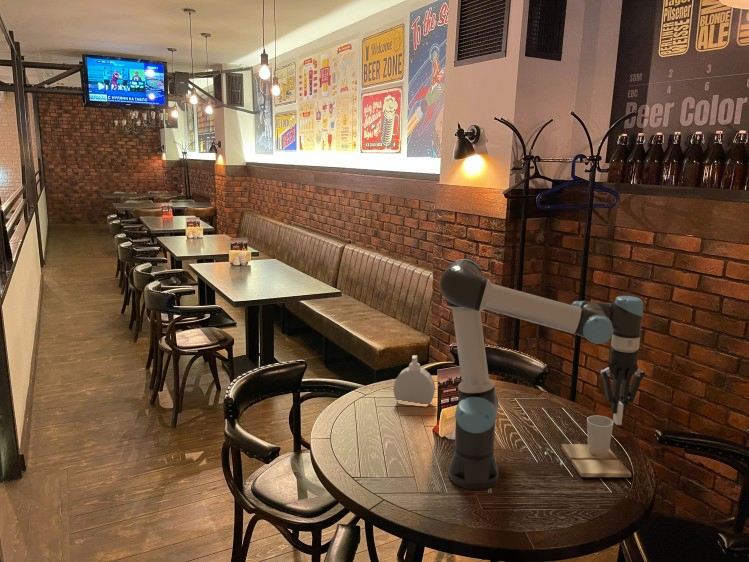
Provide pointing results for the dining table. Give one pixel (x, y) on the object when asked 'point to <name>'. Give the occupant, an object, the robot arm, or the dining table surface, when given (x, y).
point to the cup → (599, 435)
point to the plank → (600, 468)
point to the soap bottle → (414, 384)
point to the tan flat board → (584, 453)
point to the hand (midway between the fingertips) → (617, 422)
